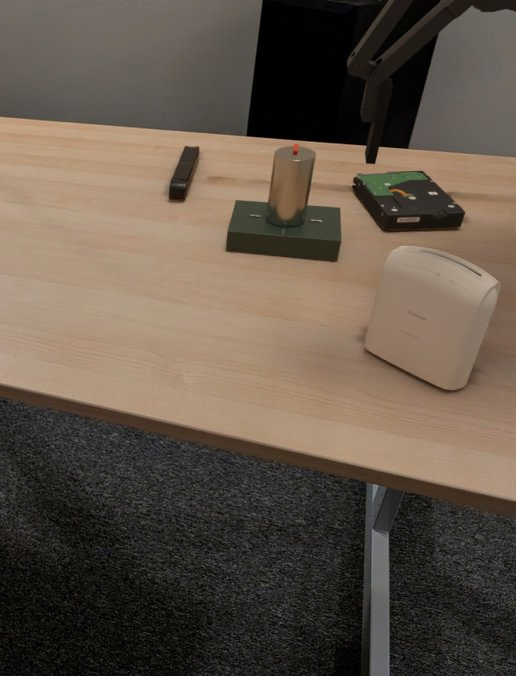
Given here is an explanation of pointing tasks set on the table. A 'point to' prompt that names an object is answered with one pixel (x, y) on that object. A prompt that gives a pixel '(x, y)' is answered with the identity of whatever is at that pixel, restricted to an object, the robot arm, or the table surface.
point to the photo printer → (431, 314)
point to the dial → (290, 185)
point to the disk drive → (407, 201)
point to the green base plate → (285, 233)
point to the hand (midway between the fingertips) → (455, 164)
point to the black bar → (184, 173)
